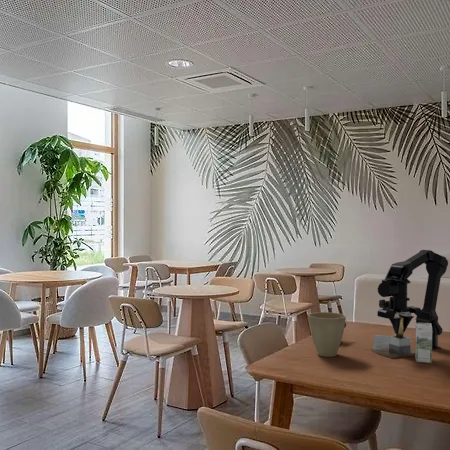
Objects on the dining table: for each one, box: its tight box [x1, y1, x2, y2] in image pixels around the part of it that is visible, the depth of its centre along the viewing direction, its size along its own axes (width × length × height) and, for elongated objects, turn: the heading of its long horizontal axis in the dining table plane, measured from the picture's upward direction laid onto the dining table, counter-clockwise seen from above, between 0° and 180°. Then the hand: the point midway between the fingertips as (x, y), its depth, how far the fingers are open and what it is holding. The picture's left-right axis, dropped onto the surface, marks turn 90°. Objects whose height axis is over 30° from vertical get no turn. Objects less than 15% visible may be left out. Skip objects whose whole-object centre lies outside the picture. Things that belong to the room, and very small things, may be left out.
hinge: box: [370, 334, 416, 360], centre depth 207 cm, size 15×12×7 cm
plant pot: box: [308, 311, 347, 358], centre depth 205 cm, size 15×15×16 cm
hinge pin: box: [395, 316, 404, 338], centre depth 206 cm, size 3×3×8 cm
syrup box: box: [414, 322, 433, 364], centre depth 195 cm, size 6×6×14 cm
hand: (399, 333), depth 206 cm, fingers closed on hinge pin, 3 cm apart
